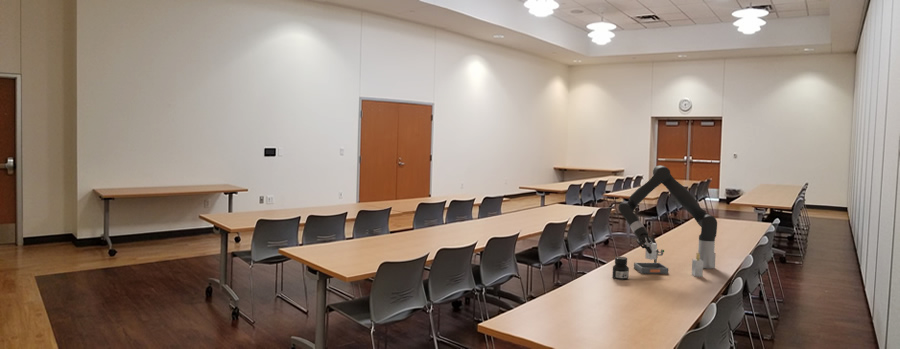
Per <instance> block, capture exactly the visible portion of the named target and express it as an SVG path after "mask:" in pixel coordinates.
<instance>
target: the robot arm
mask: <svg viewBox="0 0 900 349" xmlns="http://www.w3.org/2000/svg"><path fill="white" fill-rule="evenodd" d="M661 184H662V185H663V186H664V187H665V188H666V189H667V191H668V192H669V193H670V195H671V196H672V197H673V199H675V200H676V201H677V202H678V203H679V204H680V206H681V207H682V208H683V209H684V210H685V211H687V212H688V213H689V214H690V216H692V218H693V219H694V220H695V222H696V223H697V224H698V226H699V227H701V228H700V230H701V231H700V234H699V235H698V248H697V251H698V252H697V253H700V259H701V260H703V269H706V270H707V269H709V270H710V269H715V268H716V257H717V256H716V255H717V254H716V252H715V244H716V243H715V242H716V238H717V231H718V221H717V219H716V217H715V216H713V215H710V214H708V213H707V212H706V211H705V210H704V209H703V208H702V207H701V206H700V205H699V203H698V201H697V199H696V198H695V196H694V195H693V194H692V193H691V191H689V190H688V189H687V188H686V187H685V186H684V185H682V184H681V183H680V182H679V181H677V180H676V179H675V178H674V177H673V175H672V174H671V171H670V169H669V168H668V167H667V166H665V165H661V164H660V165H657V166H656V165H655V167H654V168H653V170H652V176H651V178H650V179H649V180H647V181H646V182H645V183H644V184H643V185H641V186H640V187H638V188H637V189H636V190H635V191H634V192H633V193H632V194H631V195H630V196H629V200H628V201H627V202H624V201H622V202H620V203H619V204H618V211H619V213H620V214H621V215H622V217H623V218H624V219H625V220H626V222H627V224H628V225H629V227H630V229H631V231H632V232H633V234H634V236H635V237H636V239H637V240H636V243H637V244H638V245H639V246H640V248H642V249H645V251H646V250H647V252H648V253H649V254H651V253H652V251H651V249H650V248H649V246H648V244H647V243H650V242H651V243H656V244H657V242H656V239H655V237H654V236H652V237H651V236H649V232H648V229H646V227H645V226H644V224H643V223H642V221H641V220H640V218H639V217H638V216H637V215H636V214H635V210H636V208H637V207H638V206H639V204H640V203H641V202H642V201H643V200H644V199H645V198H646V197H648V196H649V195H650V193H651V192H653V191H654V190H655V189H656V188H657V187H659V186H660V185H661ZM658 251H659V249H658V250H657V252H658Z"/></svg>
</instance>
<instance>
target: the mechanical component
mask: <svg viewBox="0 0 900 349" xmlns="http://www.w3.org/2000/svg"><path fill="white" fill-rule="evenodd" d="M657 250H658V252H657V256H656V259H654V260H653V263H658V262H657V260H658V257H661V256H663V255H664V253H665V249H663V248H662V249H660V251H659V249H658V248H657Z"/></svg>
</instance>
